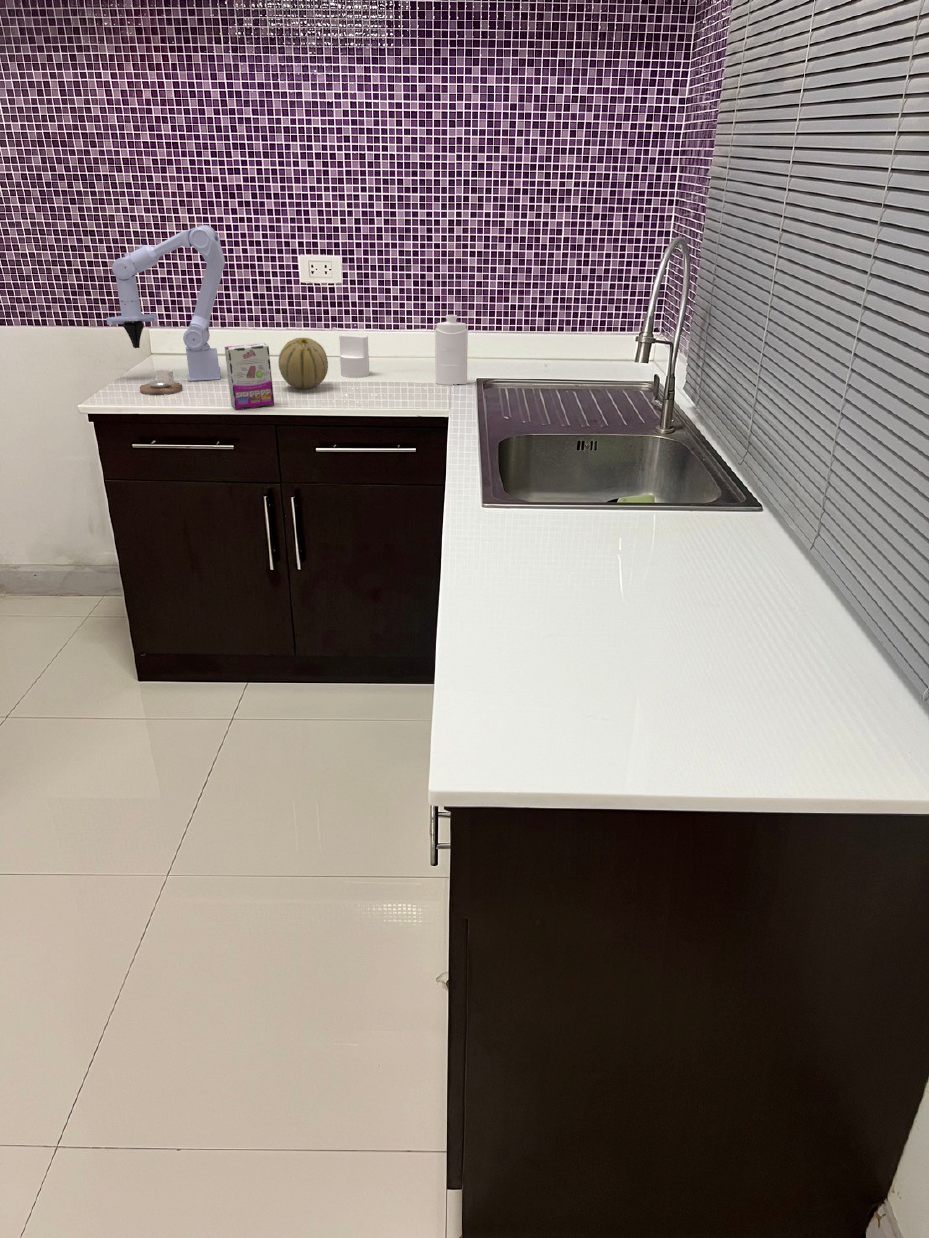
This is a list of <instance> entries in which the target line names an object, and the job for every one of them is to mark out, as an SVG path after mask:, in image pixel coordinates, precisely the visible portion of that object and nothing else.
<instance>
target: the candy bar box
mask: <svg viewBox="0 0 929 1238" xmlns="http://www.w3.org/2000/svg"><path fill="white" fill-rule="evenodd" d="M224 354H225V362H226V369H227V370H226V371H227V379H228V380H227V381H228V386H229V395H230V405H231V407H232V408H233V409H234V410H236V411H237V410H240V411H241V410H247V409H248V410H249V409H256V408H267V407H272V406H275V397H274V388H273V387H274V386H273V378H272V368H271V358H270V348H269V345H268V344H266V343H265V342H263V343H261V342H260V343H249V344H240V345H230V346H224Z"/></svg>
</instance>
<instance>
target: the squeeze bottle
mask: <svg viewBox="0 0 929 1238" xmlns="http://www.w3.org/2000/svg"><path fill="white" fill-rule="evenodd" d="M457 319H458V315H457V314H446V315H445V321H443V322H437V323H436V328H435V330H434V332H435V333H434V334H435V336H434V340H435V343H434V344H435V358H434V359H435V363H434V364H435V384H436V385H441V386H454V385H453V384H465V385H467V384H468V340H469V339H468V335H469V334H468V333H469V332H468V330H469V329H468V328H467V324H466V323H465V322H459V321H457ZM466 383H467V384H466Z"/></svg>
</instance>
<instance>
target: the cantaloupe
mask: <svg viewBox="0 0 929 1238" xmlns="http://www.w3.org/2000/svg"><path fill="white" fill-rule="evenodd" d="M278 369H279V372H280V375H281V377H282V379H283V380H284V381H285V382H286V384H288V385H290V386H291V387H293V388H296V389H300V390H308V389H313V388H316V387H317V386H319V385H320V384H321V383H322V382H323V381H324V380H325V378H326V376H327V373H328V371H329V361H328V356H327V352H326V351H325V349H324V347H323V346H322V345H321V344H320V343H319V342H317V341H316V340H314V339H312V338H310V337H296V338H294V339H292V340H289V341H287V342H286V344H284V346H283V347H282V348H281V350H280V353H279V355H278Z"/></svg>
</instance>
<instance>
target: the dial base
mask: <svg viewBox="0 0 929 1238" xmlns="http://www.w3.org/2000/svg"><path fill="white" fill-rule="evenodd" d="M182 389H184V388H183V384H182V383H180V382H175V381H174V384H171V386H170V387H165V388H152V387H150V382H149V383H146V384H142V385H140V386H139V392H140V394H143V395H146V394H150V395H149V396H165V395H164V394H168V395H173V394H177V393H181V392H182V391H183V390H182ZM180 391H181V392H180Z"/></svg>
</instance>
